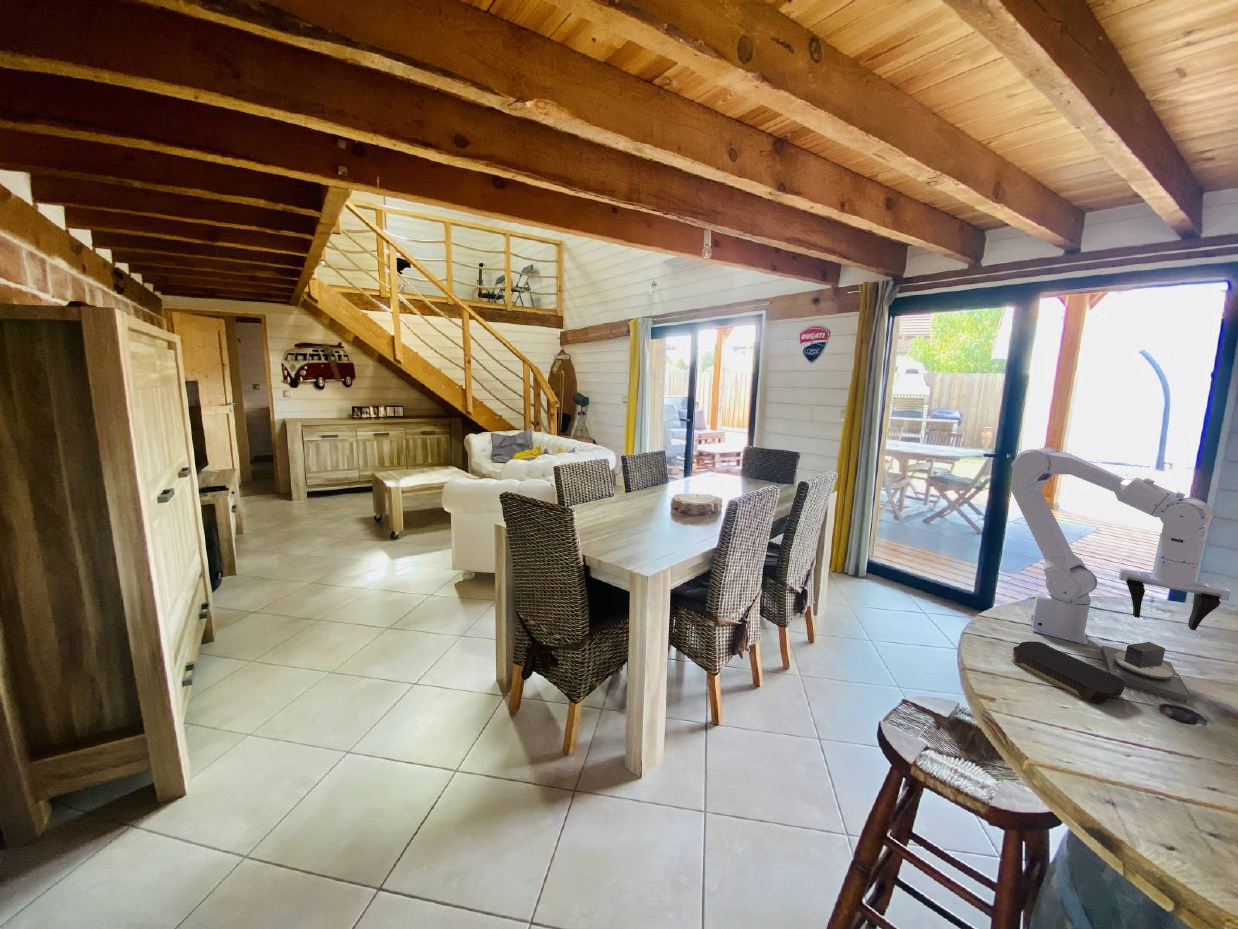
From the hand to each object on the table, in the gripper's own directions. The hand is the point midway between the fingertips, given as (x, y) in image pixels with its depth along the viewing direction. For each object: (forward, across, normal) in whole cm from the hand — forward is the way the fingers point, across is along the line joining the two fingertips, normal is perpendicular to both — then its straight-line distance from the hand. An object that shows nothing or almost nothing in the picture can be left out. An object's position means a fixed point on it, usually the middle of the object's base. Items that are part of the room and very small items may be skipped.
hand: (1163, 621), depth 98 cm
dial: (+8, +3, +7) cm, 11 cm away
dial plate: (+10, +3, +6) cm, 12 cm away
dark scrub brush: (+10, +14, +18) cm, 25 cm away
